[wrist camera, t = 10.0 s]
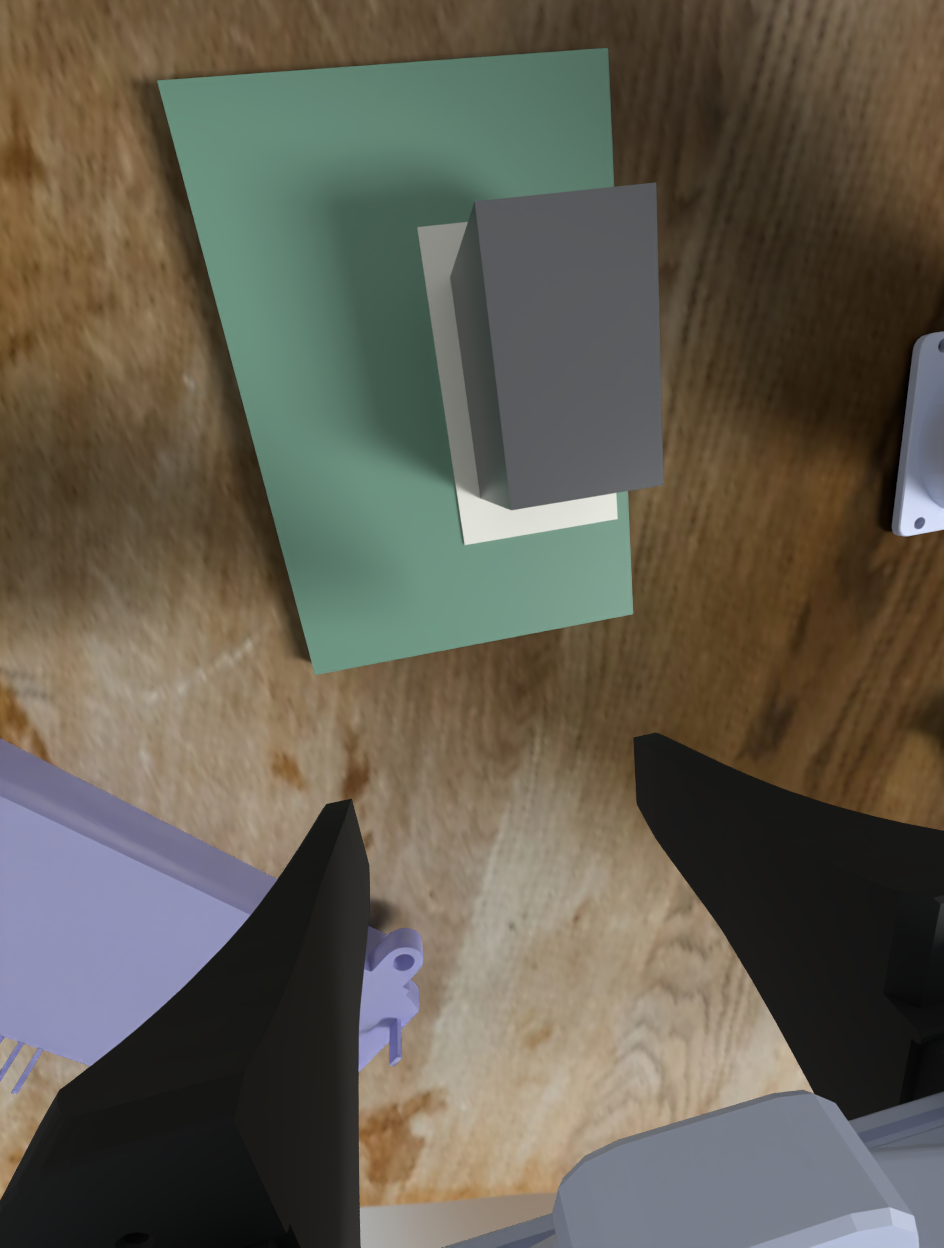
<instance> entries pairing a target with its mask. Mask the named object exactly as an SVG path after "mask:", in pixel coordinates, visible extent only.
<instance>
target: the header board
mask: <svg viewBox="0 0 944 1248" xmlns="http://www.w3.org/2000/svg"><path fill="white" fill-rule="evenodd" d="M157 82H158V86H159V90H160V94H161V97H162V101H163V105H164V109H165V112H166V116H167V120H168V124H169V127H170V131H171V135H172V139H173V142H174V146H175V150H176V154H177V157H178V161H179V165H180V169H181V172H182V176H183V180H184V184H185V188H186V191H187V195H188V199H189V203H190V206H191V210H192V214H193V218H194V221H195V225H196V229H197V233H198V236H199V240H200V244H201V248H202V251H203V255H204V259H205V263H206V267H207V270H208V274H209V278H210V282H211V285H212V289H213V293H214V297H215V300H216V304H217V308H218V312H219V315H220V319H221V323H222V327H223V330H224V334H225V338H226V342H227V346H228V349H229V353H230V357H231V361H232V364H233V368H234V372H235V376H236V379H237V383H238V387H239V391H240V394H241V398H242V402H243V406H244V409H245V413H246V417H247V421H248V425H249V428H250V432H251V436H252V440H253V443H254V447H255V451H256V455H257V458H258V462H259V466H260V470H261V473H262V477H263V481H264V485H265V488H266V492H267V496H268V500H269V504H270V507H271V511H272V515H273V519H274V522H275V526H276V530H277V534H278V537H279V541H280V545H281V549H282V552H283V556H284V560H285V564H286V567H287V571H288V575H289V579H290V582H291V586H292V590H293V594H294V598H295V601H296V605H297V609H298V613H299V616H300V620H301V624H302V628H303V631H304V635H305V639H306V643H307V646H308V650H309V654H310V658H311V661H312V665H313V669H314V673H315V675H317V674H323V673H328V672H333V671H338V670H343V669H349V668H354V667H359V666H364V665H370V664H375V663H380V662H385V661H390V660H396V659H401V658H406V657H411V656H417V655H422V654H427V653H432V652H437V651H443V650H448V649H453V648H458V647H464V646H469V645H474V644H479V643H485V642H490V641H495V640H500V639H505V638H511V637H516V636H521V635H526V634H532V633H537V632H542V631H547V630H552V629H558V628H563V627H568V626H573V625H579V624H584V623H589V622H594V621H599V620H605V619H610V618H615V617H620V616H626V615H631V614H633V600H632V578H631V555H630V533H629V510H628V491H625V492H619V493H613V494H607V495H601V496H595V497H589V498H583V499H577V500H571V501H565V502H559V503H553V504H547V505H541V506H535V507H529V508H523V509H517V510H509V509H506V508H504V507H501V506H499V505H496V504H493V503H491V502H488V501H486V500H483V499H480V492H479V485H478V477H477V470H476V463H475V455H474V448H473V441H472V433H471V426H470V419H469V411H468V404H467V397H466V390H465V382H464V375H463V368H462V360H461V353H460V346H459V338H458V331H457V324H456V316H455V309H454V302H453V295H452V287H451V280H450V276H451V272H452V269H453V266H454V263H455V260H456V257H457V254H458V251H459V248H460V245H461V242H462V239H463V236H464V232H465V229H466V226H467V223H468V220H469V217H470V214H471V211H472V208H473V205H474V202H475V201H482V200H492V199H501V198H511V197H521V196H530V195H540V194H549V193H559V192H569V191H578V190H588V189H598V188H607V187H614V172H613V149H612V127H611V104H610V81H609V59H608V48H599V49H585V50H572V51H558V52H544V53H530V54H517V55H503V56H489V57H475V58H462V59H448V60H434V61H420V62H407V63H393V64H379V65H365V66H352V67H338V68H324V69H310V70H297V71H283V72H269V73H255V74H242V75H228V76H214V77H200V78H187V79H173V80H159V81H157Z"/></svg>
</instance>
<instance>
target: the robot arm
mask: <svg viewBox="0 0 944 1248" xmlns="http://www.w3.org/2000/svg"><path fill="white" fill-rule="evenodd" d="M939 343H940V348H939V350H938V345H939ZM915 521H916V524H915ZM914 524H915V525H914ZM938 530H944V332H936V333H931V334H927V335H924V336H921V337H920V338H919V339H918V340H917V342H916V343H915V345H914V348H913V353H912V362H911V370H910V378H909V387H908V395H907V403H906V412H905V420H904V428H903V437H902V445H901V453H900V462H899V470H898V478H897V487H896V495H895V503H894V512H893V520H892V531H893V533H894V534H896V535H898V536H911V535H917V534H922V533H928V532H933V531H938ZM634 758H635V779H636V800H637V805H638V807H639V809H640V811H641V813H642V815H643V817H644V818H645V820H646V822H647V824H648V826H649V828H650V829H651V831H652V833H653V835H654V836H655V838H656V840H657V841H658V842H659V844H660V845H661V847H662V848H663V850H664V851H665V852H666V854H667V855H668V856H669V858H670V859H671V861H672V862H673V863H674V865H675V866H676V868H677V869H678V870H679V872H680V873H681V874H682V876H683V877H684V878H685V880H686V881H687V882H688V884H689V885H690V887H691V888H692V889H693V891H694V892H695V893H696V895H697V896H698V897H699V899H700V900H701V902H702V903H703V904H704V906H705V907H706V908H707V910H708V911H709V912H710V914H711V915H712V917H713V918H714V920H715V921H716V922H717V924H718V925H719V927H720V928H721V930H722V931H723V933H724V934H725V936H726V938H727V939H728V941H729V943H730V944H731V946H732V948H733V949H734V951H735V953H736V954H737V956H738V958H739V959H740V961H741V963H742V964H743V966H744V968H745V969H746V971H747V973H748V974H749V976H750V978H751V979H752V981H753V983H754V985H755V986H756V988H757V990H758V992H759V993H760V995H761V997H762V999H763V1000H764V1002H765V1004H766V1006H767V1007H768V1009H769V1011H770V1013H771V1014H772V1016H773V1018H774V1020H775V1021H776V1023H777V1025H778V1027H779V1029H780V1031H781V1032H782V1034H783V1036H784V1038H785V1040H786V1042H787V1043H788V1045H789V1047H790V1049H791V1051H792V1053H793V1055H794V1056H795V1058H796V1060H797V1062H798V1064H799V1066H800V1067H801V1069H802V1071H803V1073H804V1075H805V1077H806V1079H807V1080H808V1082H809V1084H810V1086H811V1088H812V1090H813V1092H814V1094H813V1093H811V1092H808V1091H805V1090H798V1091H789V1092H781V1093H773V1094H769V1095H766V1096H763V1097H759V1098H756V1099H753V1100H749V1101H746V1102H743V1103H739V1104H736V1105H733V1106H729V1107H726V1108H723V1109H719V1110H716V1111H713V1112H709V1113H706V1114H703V1115H699V1116H696V1117H693V1118H689V1119H686V1120H683V1121H679V1122H676V1123H673V1124H669V1125H666V1126H663V1127H659V1128H656V1129H653V1130H649V1131H646V1132H643V1133H639V1134H636V1135H633V1136H629V1137H626V1138H623V1139H619V1140H617V1141H615V1142H613V1143H611V1144H608V1145H606V1146H604V1147H602V1148H600V1149H598V1150H596V1151H594V1152H592V1153H590V1154H588V1155H586V1156H584V1157H583V1158H582V1159H581V1160H580V1161H579V1162H578V1163H577V1164H576V1165H575V1166H574V1167H573V1169H572V1170H571V1171H570V1172H569V1173H568V1174H567V1175H566V1176H565V1177H564V1178H563V1179H562V1181H561V1184H560V1186H559V1189H558V1193H557V1196H556V1200H555V1204H554V1208H553V1212H552V1213H551V1214H548V1215H545V1216H542V1217H539V1218H536V1219H532V1220H529V1221H526V1222H523V1223H519V1224H516V1225H513V1226H510V1227H506V1228H504V1229H500V1230H497V1231H494V1232H490V1233H487V1234H484V1235H481V1236H478V1237H474V1238H471V1239H468V1240H465V1241H461V1242H458V1243H455V1244H452V1245H449V1246H445V1247H442V1248H944V831H942V830H937V829H932V828H926V827H921V826H916V825H911V824H906V823H901V822H897V821H892V820H888V819H883V818H879V817H875V816H871V815H867V814H863V813H860V812H856V811H852V810H848V809H844V808H841V807H837V806H834V805H830V804H827V803H824V802H821V801H818V800H815V799H812V798H809V797H806V796H803V795H800V794H797V793H794V792H791V791H788V790H785V789H782V788H780V787H777V786H774V785H772V784H769V783H767V782H764V781H762V780H760V779H757V778H755V777H752V776H750V775H747V774H745V773H743V772H740V771H738V770H736V769H734V768H731V767H729V766H727V765H725V764H723V763H720V762H718V761H716V760H714V759H712V758H710V757H708V756H705V755H703V754H701V753H699V752H697V751H695V750H693V749H691V748H689V747H687V746H685V745H683V744H681V743H678V742H676V741H674V740H672V739H670V738H668V737H665V736H663V735H661V734H658V733H652V734H647V735H643V736H638V737H634ZM369 914H370V874H369V863H368V859H367V855H366V851H365V847H364V844H363V840H362V836H361V832H360V828H359V825H358V821H357V817H356V813H355V809H354V806H353V802H352V799H348V800H343V801H339V802H334V803H329V804H326V805H325V807H324V808H323V810H322V811H321V813H320V814H319V816H318V818H317V819H316V821H315V823H314V824H313V826H312V828H311V829H310V831H309V832H308V834H307V836H306V837H305V839H304V840H303V842H302V844H301V845H300V847H299V848H298V850H297V851H296V853H295V854H294V856H293V857H292V859H291V860H290V862H289V863H288V865H287V866H286V868H285V869H284V871H283V872H282V874H281V875H280V877H279V878H278V879H277V881H276V882H275V883H274V885H273V886H272V887H271V889H270V890H269V892H268V893H267V894H266V896H265V897H264V898H263V900H262V901H261V902H260V904H259V905H258V906H257V908H256V909H255V910H254V911H253V913H252V914H251V915H250V916H249V918H248V919H247V920H246V921H245V922H244V924H243V925H242V926H241V927H240V928H239V929H238V930H237V932H236V933H235V934H234V935H233V936H232V937H231V938H230V940H229V941H228V942H227V943H226V944H225V945H224V946H223V947H222V948H221V949H220V950H219V951H218V952H217V953H216V954H215V955H214V956H213V957H212V958H211V959H210V961H209V962H208V963H207V964H206V965H205V966H204V967H203V968H202V969H201V970H200V971H199V972H198V973H197V974H196V975H195V976H194V977H193V978H192V979H191V980H190V981H189V982H188V983H187V984H186V985H185V986H184V987H183V988H182V989H181V990H180V991H178V992H177V993H176V994H175V995H174V996H173V997H172V998H171V999H170V1000H169V1001H168V1002H167V1003H165V1004H164V1005H163V1006H162V1007H161V1008H160V1009H159V1010H158V1011H157V1012H155V1013H154V1014H153V1015H152V1016H151V1017H150V1018H149V1019H147V1020H146V1021H145V1022H144V1023H143V1024H142V1025H141V1026H139V1027H138V1028H137V1029H136V1030H135V1031H134V1032H132V1033H131V1034H130V1035H129V1036H128V1037H126V1038H125V1039H124V1040H123V1041H122V1042H120V1043H119V1044H118V1045H117V1046H115V1047H114V1048H113V1049H112V1050H110V1051H109V1052H108V1053H106V1054H105V1055H104V1056H103V1057H101V1058H100V1059H99V1060H98V1061H96V1062H95V1063H94V1064H93V1065H91V1066H90V1067H89V1068H88V1069H86V1070H85V1071H84V1072H82V1073H81V1074H80V1075H79V1076H77V1077H76V1078H75V1079H74V1080H72V1081H71V1082H70V1083H68V1084H67V1085H66V1086H64V1087H63V1088H62V1089H60V1090H59V1092H58V1093H57V1095H56V1097H55V1099H54V1100H53V1102H52V1104H51V1106H50V1107H49V1109H48V1111H47V1113H46V1114H45V1116H44V1118H43V1120H42V1122H41V1123H40V1125H39V1127H38V1129H37V1131H36V1133H35V1135H34V1137H33V1139H32V1140H31V1142H30V1144H29V1146H28V1148H27V1150H26V1152H25V1154H24V1156H23V1158H22V1160H21V1162H20V1164H19V1165H18V1167H17V1169H16V1171H15V1173H14V1175H13V1177H12V1179H11V1181H10V1183H9V1185H8V1187H7V1189H6V1190H5V1192H4V1194H3V1196H2V1198H1V1200H0V1248H361V1246H360V1203H359V1094H358V1081H359V1022H360V1006H361V996H362V986H363V976H364V966H365V956H366V946H367V936H368V925H369Z"/></svg>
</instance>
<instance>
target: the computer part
mask: <svg viewBox="0 0 944 1248" xmlns="http://www.w3.org/2000/svg"><path fill="white" fill-rule="evenodd" d="M276 881H277V879H276V878H274V877H272V876H270V875H268V874H266V873H264V872H262V871H260V870H258V869H256V868H254V867H252V866H251V865H249V864H247V863H245V862H243V861H241V860H239V859H237V858H235V857H233V856H231V855H229V854H227V853H225V852H223V851H221V850H219V849H217V848H215V847H213V846H211V845H209V844H207V843H205V842H203V841H201V840H199V839H197V838H195V837H193V836H191V835H189V834H188V833H186V832H184V831H182V830H180V829H178V828H176V827H174V826H172V825H170V824H168V823H166V822H164V821H162V820H160V819H158V818H156V817H154V816H152V815H150V814H148V813H146V812H144V811H142V810H140V809H138V808H136V807H134V806H132V805H130V804H128V803H126V802H125V801H123V800H121V799H119V798H117V797H115V796H113V795H111V794H109V793H107V792H105V791H103V790H101V789H99V788H97V787H95V786H93V785H91V784H89V783H87V782H85V781H83V780H81V779H79V778H77V777H75V776H73V775H71V774H69V773H67V772H65V771H63V770H62V769H60V768H58V767H56V766H54V765H52V764H50V763H48V762H46V761H44V760H42V759H40V758H38V757H36V756H34V755H32V754H30V753H28V752H26V751H24V750H22V749H20V748H18V747H16V746H14V745H12V744H10V743H8V742H6V741H4V740H2V739H0V1043H1V1042H2V1040H3V1039H4V1037H6V1038H8V1039H11V1040H14V1041H17V1042H19V1043H18V1044H17V1046H16V1047H15V1049H14V1050H13V1052H12V1053H11V1055H10V1057H9V1058H8V1060H7V1061H6V1063H5V1064H4V1066H3V1068H2V1069H1V1071H0V1081H1V1079H2V1078H3V1076H4V1075H5V1073H6V1071H7V1070H8V1068H9V1067H10V1065H11V1064H12V1062H13V1060H14V1059H15V1057H16V1056H17V1054H18V1052H19V1051H20V1049H21V1048H22V1046H23V1045H24V1044H26V1045H29V1046H32V1047H35V1048H38V1049H37V1051H36V1053H35V1054H34V1056H33V1058H32V1059H31V1061H30V1063H29V1064H28V1066H27V1068H26V1069H25V1071H24V1072H23V1074H22V1076H21V1077H20V1079H19V1081H18V1082H17V1084H16V1086H15V1087H14V1089H13V1091H12V1092H11V1093H13V1094H17V1093H18V1092H19V1090H20V1088H21V1087H22V1085H23V1083H24V1082H25V1080H26V1078H27V1076H28V1075H29V1073H30V1071H31V1070H32V1068H33V1066H34V1065H35V1063H36V1061H37V1060H38V1058H39V1056H40V1055H41V1053H42V1051H43V1050H44V1051H47V1052H50V1053H53V1054H56V1055H59V1056H62V1057H65V1058H68V1059H71V1060H74V1061H77V1062H80V1063H83V1064H86V1065H89V1066H91V1065H93V1064H94V1063H95V1062H96V1061H98V1060H99V1059H100V1058H101V1057H103V1056H104V1055H105V1054H106V1053H108V1052H109V1051H110V1050H112V1049H113V1048H114V1047H115V1046H117V1045H118V1044H119V1043H120V1042H122V1041H123V1040H124V1039H125V1038H126V1037H128V1036H129V1035H130V1034H131V1033H132V1032H134V1031H135V1030H136V1029H137V1028H138V1027H139V1026H141V1025H142V1024H143V1023H144V1022H145V1021H146V1020H147V1019H149V1018H150V1017H151V1016H152V1015H153V1014H154V1013H155V1012H157V1011H158V1010H159V1009H160V1008H161V1007H162V1006H163V1005H164V1004H165V1003H167V1002H168V1001H169V1000H170V999H171V998H172V997H173V996H174V995H175V994H176V993H177V992H178V991H180V990H181V989H182V988H183V987H184V986H185V985H186V984H187V983H188V982H189V981H190V980H191V979H192V978H193V977H194V976H195V975H196V974H197V973H198V972H199V971H200V970H201V969H202V968H203V967H204V966H205V965H206V964H207V963H208V962H209V961H210V959H211V958H212V957H213V956H214V955H215V954H216V953H217V952H218V951H219V950H220V949H221V948H222V947H223V946H224V945H225V944H226V943H227V942H228V941H229V940H230V938H231V937H232V936H233V935H234V934H235V933H236V932H237V930H238V929H239V928H240V927H241V926H242V925H243V924H244V922H245V921H246V920H247V919H248V918H249V916H250V915H251V914H252V913H253V911H254V910H255V909H256V908H257V906H258V905H259V904H260V902H261V901H262V900H263V898H264V897H265V896H266V894H267V893H268V892H269V890H270V889H271V887H272V886H273V885H274V883H275V882H276ZM422 964H423V948H422V938H421V935H420V934H419V933H418V932H417V931H415V930H413V929H409V928H402V929H398V930H395V931H393V932H391V933H390V934H389V935H386V934H384V933H382V932H380V931H378V930H377V929H375V928H373V927H371V926H369V925H368V936H367V946H366V956H365V966H364V976H363V986H362V996H361V1006H360V1022H359V1072H360V1071H361V1070H362V1069H363V1068H364V1066H365V1065H366V1064H367V1063H368V1062H369V1061H370V1060H371V1059H372V1058H373V1057H374V1056H375V1055H376V1054H377V1053H378V1052H379V1051H380V1050H381V1049H382V1048H383V1047H384V1046H385V1045H386V1044H387V1043H388V1042H389V1041H390V1042H389V1065H391V1066H393V1067H394V1066H395V1065H396V1064H397V1063H398V1062H399V1061H400V1060H401V1059H402V1037H401V1029H402V1028H403V1027H404V1026H405V1025H406V1024H407V1023H408V1022H409V1021H410V1020H411V1019H412V1018H413V1017H414V1016H415V1015H416V1014H417V1013H418V1012H419V1011H420V1010H419V990H418V986H417V985H416V984H415V983H414V982H413V981H412V980H411V978H412V977H413V976H414V975H415V974H416V973H417V972H418V971H419V969H420V968H421V967H422Z"/></svg>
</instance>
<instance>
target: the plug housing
mask: <svg viewBox="0 0 944 1248" xmlns="http://www.w3.org/2000/svg"><path fill="white" fill-rule="evenodd" d="M450 280H451V287H452V295H453V302H454V309H455V316H456V324H457V331H458V338H459V346H460V353H461V360H462V368H463V375H464V382H465V390H466V397H467V404H468V411H469V419H470V426H471V433H472V441H473V448H474V455H475V463H476V470H477V477H478V485H479V492H480V499H483V500H486V501H488V502H491V503H493V504H496V505H499V506H501V507H504V508H506V509H509V510H517V509H523V508H529V507H535V506H541V505H547V504H553V503H559V502H565V501H571V500H577V499H583V498H589V497H595V496H601V495H607V494H613V493H619V492H625V491H631V490H637V489H643V488H649V487H655V486H661V485H663V446H662V404H661V362H660V320H659V278H658V236H657V195H656V182H655V183H646V184H636V185H627V186H617V187H607V188H598V189H588V190H578V191H569V192H559V193H549V194H540V195H530V196H521V197H511V198H501V199H492V200H482V201H475V202H474V205H473V208H472V211H471V214H470V217H469V220H468V223H467V226H466V229H465V232H464V236H463V239H462V242H461V245H460V248H459V251H458V254H457V257H456V260H455V263H454V266H453V269H452V272H451V276H450Z"/></svg>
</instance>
